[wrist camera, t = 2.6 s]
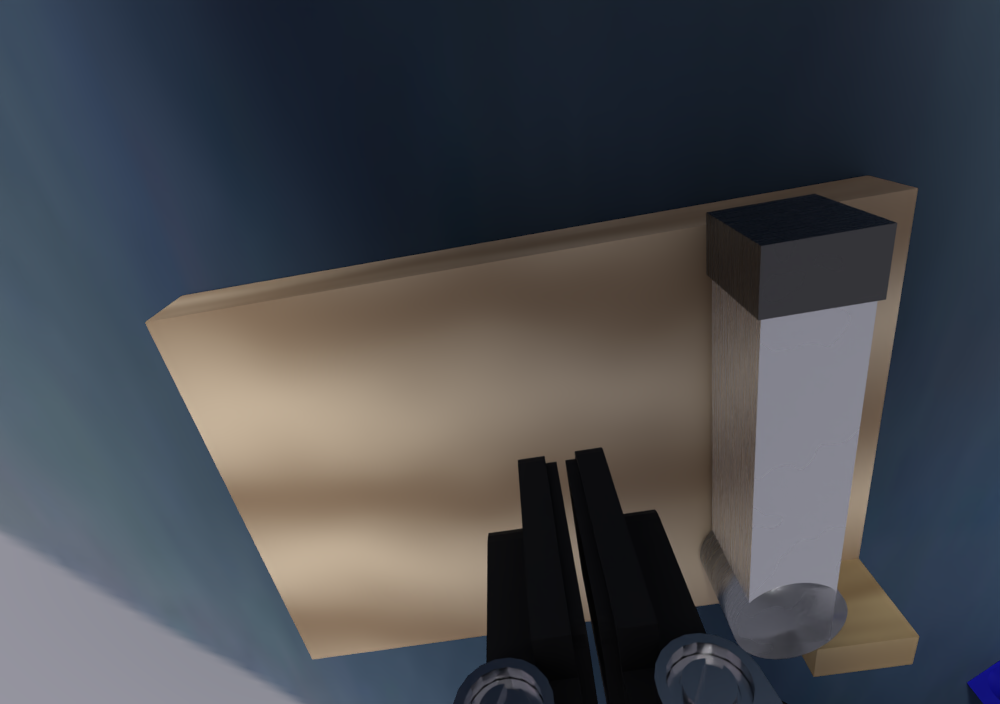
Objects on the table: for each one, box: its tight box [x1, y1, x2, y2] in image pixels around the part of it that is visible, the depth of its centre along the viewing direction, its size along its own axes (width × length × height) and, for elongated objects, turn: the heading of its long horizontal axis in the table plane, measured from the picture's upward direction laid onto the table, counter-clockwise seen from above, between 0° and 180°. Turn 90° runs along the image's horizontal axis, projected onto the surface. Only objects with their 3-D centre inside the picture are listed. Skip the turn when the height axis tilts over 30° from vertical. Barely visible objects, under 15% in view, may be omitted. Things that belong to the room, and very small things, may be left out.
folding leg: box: [700, 194, 897, 659], centre depth 15 cm, size 13×3×3 cm, turn 10°
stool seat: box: [145, 175, 919, 677], centre depth 17 cm, size 14×20×5 cm
